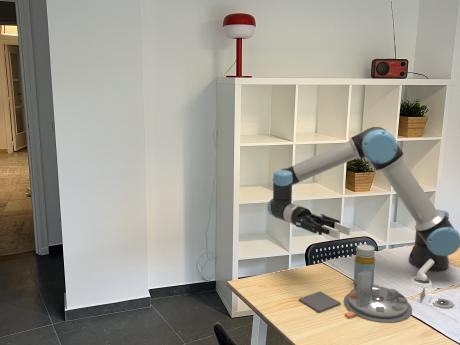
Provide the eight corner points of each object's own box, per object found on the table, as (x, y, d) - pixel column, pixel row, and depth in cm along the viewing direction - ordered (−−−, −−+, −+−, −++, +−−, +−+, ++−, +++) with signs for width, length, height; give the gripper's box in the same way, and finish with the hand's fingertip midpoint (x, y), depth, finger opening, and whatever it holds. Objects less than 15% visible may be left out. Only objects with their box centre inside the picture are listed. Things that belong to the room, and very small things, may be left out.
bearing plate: (373, 285, 166) (373, 284, 166) (426, 310, 147) (426, 309, 147) (330, 300, 154) (330, 299, 154) (382, 330, 136) (382, 329, 136)
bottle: (359, 279, 171) (361, 242, 168) (376, 285, 166) (379, 247, 163) (350, 285, 166) (352, 247, 163) (367, 291, 161) (369, 252, 158)
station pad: (320, 293, 160) (320, 291, 160) (340, 304, 151) (340, 302, 151) (298, 300, 154) (298, 298, 154) (318, 313, 146) (319, 310, 146)
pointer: (351, 313, 146) (351, 310, 145) (355, 316, 144) (355, 313, 144) (344, 316, 144) (344, 313, 144) (349, 319, 142) (349, 316, 142)
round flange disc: (373, 286, 163) (375, 252, 161) (419, 308, 148) (422, 271, 145) (336, 299, 154) (338, 264, 151) (381, 324, 138) (384, 285, 135)
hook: (450, 273, 163) (440, 266, 160) (428, 297, 165) (417, 291, 162) (436, 262, 170) (426, 254, 166) (415, 285, 172) (405, 278, 168)
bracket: (451, 311, 147) (452, 301, 147) (419, 303, 153) (420, 294, 152) (454, 303, 153) (455, 294, 152) (423, 296, 158) (424, 287, 157)
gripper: (315, 221, 176) (360, 238, 157) (279, 229, 167) (323, 248, 147) (315, 202, 175) (362, 217, 155) (279, 210, 165) (324, 227, 146)
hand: (343, 232), depth 151 cm, fingers open, 5 cm apart
